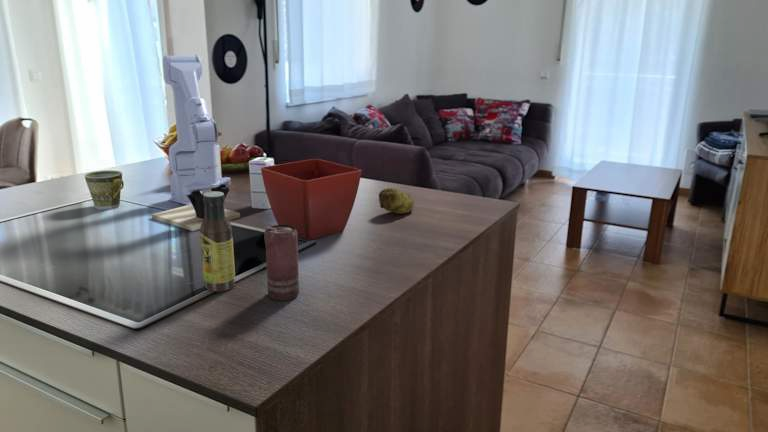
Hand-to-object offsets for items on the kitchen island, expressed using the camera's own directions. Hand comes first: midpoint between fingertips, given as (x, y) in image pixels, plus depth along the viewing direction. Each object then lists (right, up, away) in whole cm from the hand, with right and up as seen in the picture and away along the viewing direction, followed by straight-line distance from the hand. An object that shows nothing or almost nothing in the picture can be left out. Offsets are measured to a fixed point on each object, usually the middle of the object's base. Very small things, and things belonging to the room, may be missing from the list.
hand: (209, 214), depth 161 cm
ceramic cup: (-33, +2, +12) cm, 35 cm away
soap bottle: (-15, +11, +44) cm, 47 cm away
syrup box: (+12, +2, +16) cm, 20 cm away
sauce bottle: (+14, -15, -41) cm, 46 cm away
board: (-5, -1, +4) cm, 6 cm away
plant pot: (+29, -4, -5) cm, 30 cm away
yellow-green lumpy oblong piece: (+52, 0, +11) cm, 53 cm away
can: (+28, -16, -44) cm, 55 cm away
